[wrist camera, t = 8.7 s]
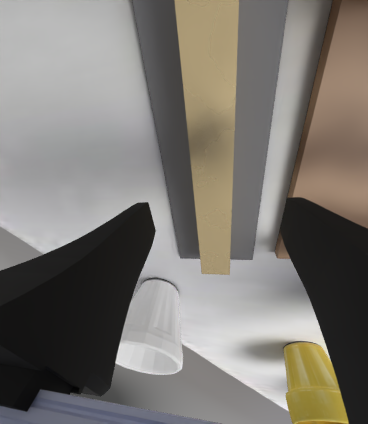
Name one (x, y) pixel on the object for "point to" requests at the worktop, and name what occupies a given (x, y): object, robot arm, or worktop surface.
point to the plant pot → (312, 386)
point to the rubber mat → (244, 113)
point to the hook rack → (337, 121)
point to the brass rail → (210, 118)
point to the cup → (152, 330)
